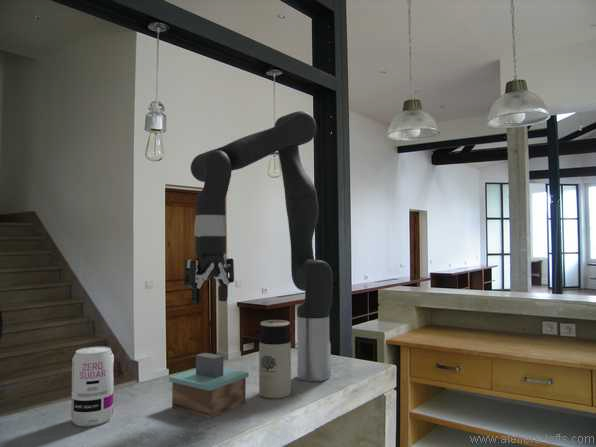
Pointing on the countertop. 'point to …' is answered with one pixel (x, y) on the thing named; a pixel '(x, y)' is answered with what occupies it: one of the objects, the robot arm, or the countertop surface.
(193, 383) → the lid
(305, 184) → the robot arm
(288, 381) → the travel mug
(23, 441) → the countertop surface
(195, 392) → the box
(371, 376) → the countertop surface
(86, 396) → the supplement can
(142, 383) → the countertop surface
